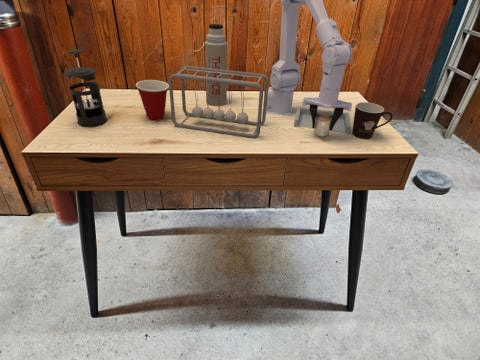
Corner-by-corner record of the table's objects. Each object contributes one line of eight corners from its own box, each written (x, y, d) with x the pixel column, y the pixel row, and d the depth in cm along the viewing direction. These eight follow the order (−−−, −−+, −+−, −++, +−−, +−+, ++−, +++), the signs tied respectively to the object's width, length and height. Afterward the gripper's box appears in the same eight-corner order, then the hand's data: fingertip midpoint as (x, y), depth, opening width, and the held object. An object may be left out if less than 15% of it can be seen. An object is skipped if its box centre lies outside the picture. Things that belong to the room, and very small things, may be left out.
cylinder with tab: (312, 138, 102) (315, 120, 98) (313, 127, 107) (316, 110, 103) (329, 140, 101) (332, 122, 97) (329, 129, 106) (333, 112, 102)
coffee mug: (345, 137, 105) (353, 109, 99) (351, 127, 111) (358, 100, 106) (382, 146, 101) (392, 117, 95) (386, 135, 107) (395, 107, 101)
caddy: (293, 127, 110) (294, 119, 108) (296, 113, 120) (297, 105, 118) (348, 134, 107) (350, 126, 105) (347, 119, 117) (348, 111, 115)
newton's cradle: (265, 125, 110) (269, 74, 100) (259, 139, 102) (263, 84, 92) (183, 114, 116) (180, 64, 105) (172, 126, 107) (167, 73, 97)
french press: (99, 129, 104) (81, 56, 90) (71, 127, 104) (49, 54, 91) (114, 114, 113) (99, 46, 100) (88, 112, 114) (70, 44, 100)
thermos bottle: (222, 107, 122) (222, 27, 106) (203, 104, 124) (200, 25, 107) (229, 100, 128) (230, 23, 112) (210, 97, 130) (209, 21, 114)
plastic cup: (174, 122, 110) (170, 88, 103) (141, 125, 107) (136, 90, 100) (170, 110, 118) (167, 77, 111) (140, 112, 116) (135, 79, 109)
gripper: (305, 88, 93) (298, 130, 101) (356, 94, 90) (345, 137, 98) (306, 81, 99) (300, 121, 106) (354, 86, 96) (344, 127, 104)
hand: (322, 128), depth 103 cm, fingers closed on cylinder with tab, 5 cm apart
